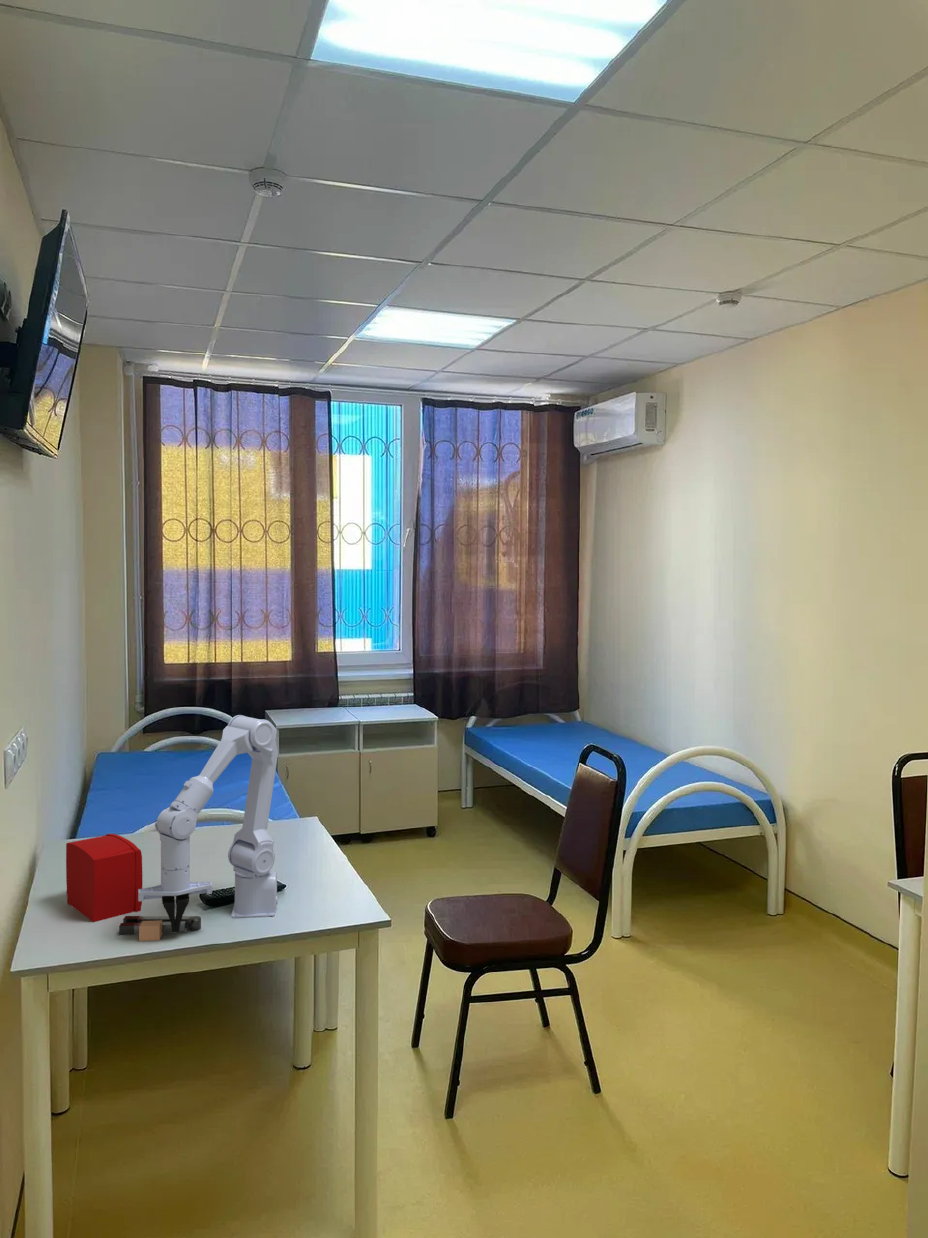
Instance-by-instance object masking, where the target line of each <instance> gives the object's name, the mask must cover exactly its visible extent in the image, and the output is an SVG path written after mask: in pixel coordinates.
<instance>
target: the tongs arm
mask: <svg viewBox="0 0 928 1238" xmlns="http://www.w3.org/2000/svg"><path fill="white" fill-rule="evenodd" d="M175 919H176V915H175ZM157 920H162V922H170V919H169V916H168V915H167V916H164V915H163V916H162V915H161V916H159V915H157V916H156V915H155V916H154V915H153V916H151V915H150V916H149V915H148V916H145V915H144V916H143V915H142V916H141V915H125V916H124V917H123V918H122V923H141V922H142V921H157ZM181 921H186V929H188V930H189V931H190V932H195V931H196V932H197V931H199V930H201V929H202V917H201V916H199V915H194V916H193V915H185V916H184V915H183V916H182V919H181Z"/></svg>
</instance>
